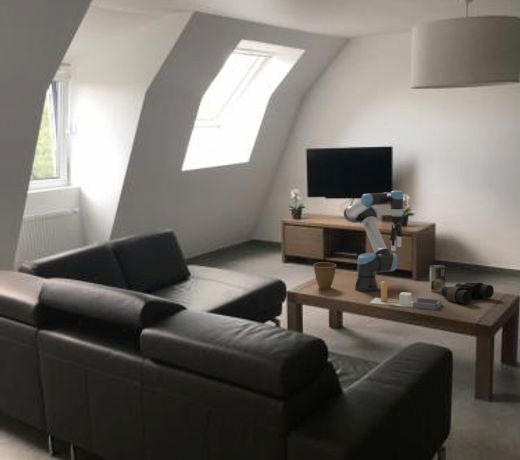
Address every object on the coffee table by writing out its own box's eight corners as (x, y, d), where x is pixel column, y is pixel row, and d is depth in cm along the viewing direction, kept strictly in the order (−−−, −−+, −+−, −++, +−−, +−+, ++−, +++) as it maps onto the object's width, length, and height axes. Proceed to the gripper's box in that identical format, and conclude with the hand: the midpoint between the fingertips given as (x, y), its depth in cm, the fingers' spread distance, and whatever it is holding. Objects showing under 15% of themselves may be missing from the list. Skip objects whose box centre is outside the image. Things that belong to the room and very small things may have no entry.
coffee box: (443, 289, 401) (444, 265, 398) (445, 291, 394) (446, 267, 392) (429, 289, 402) (429, 265, 399) (430, 291, 395) (431, 267, 393)
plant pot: (310, 289, 407) (310, 266, 404) (317, 284, 420) (317, 261, 418) (332, 291, 401) (332, 267, 398) (338, 286, 415) (338, 262, 412)
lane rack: (369, 303, 372) (369, 297, 372) (375, 298, 383) (375, 292, 382) (437, 311, 354) (437, 304, 354) (441, 305, 365) (441, 299, 364)
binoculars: (463, 306, 360) (463, 289, 359) (435, 301, 377) (435, 285, 376) (494, 298, 376) (493, 282, 375) (466, 294, 393) (465, 278, 392)
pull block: (379, 302, 373) (379, 282, 371) (382, 299, 378) (382, 280, 376) (409, 305, 365) (409, 285, 363) (411, 302, 370) (411, 283, 368)
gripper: (397, 218, 374) (397, 252, 378) (407, 213, 396) (407, 245, 400) (385, 217, 378) (385, 251, 381) (396, 212, 400) (395, 244, 403)
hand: (396, 248), depth 390 cm, fingers open, 13 cm apart
